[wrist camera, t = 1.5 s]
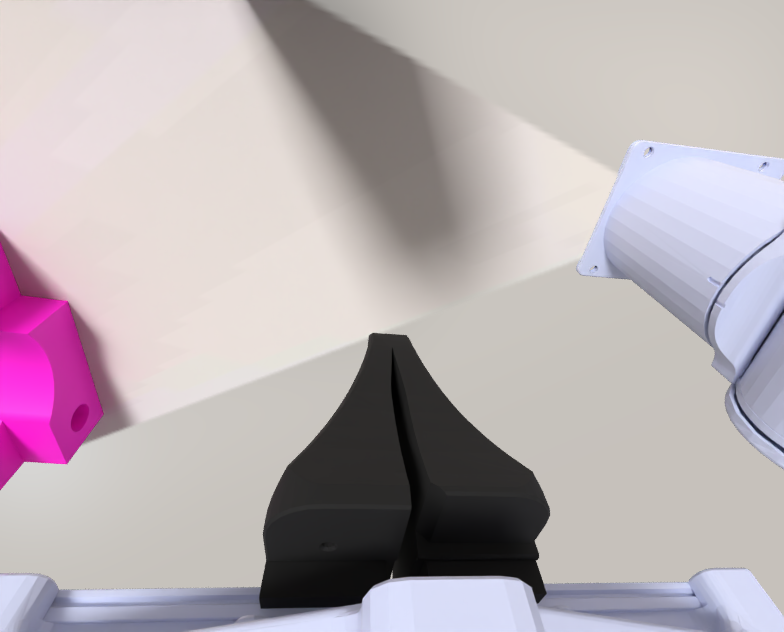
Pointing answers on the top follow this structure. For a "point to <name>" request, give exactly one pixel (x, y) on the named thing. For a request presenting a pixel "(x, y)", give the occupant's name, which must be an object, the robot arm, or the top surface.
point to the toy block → (41, 380)
